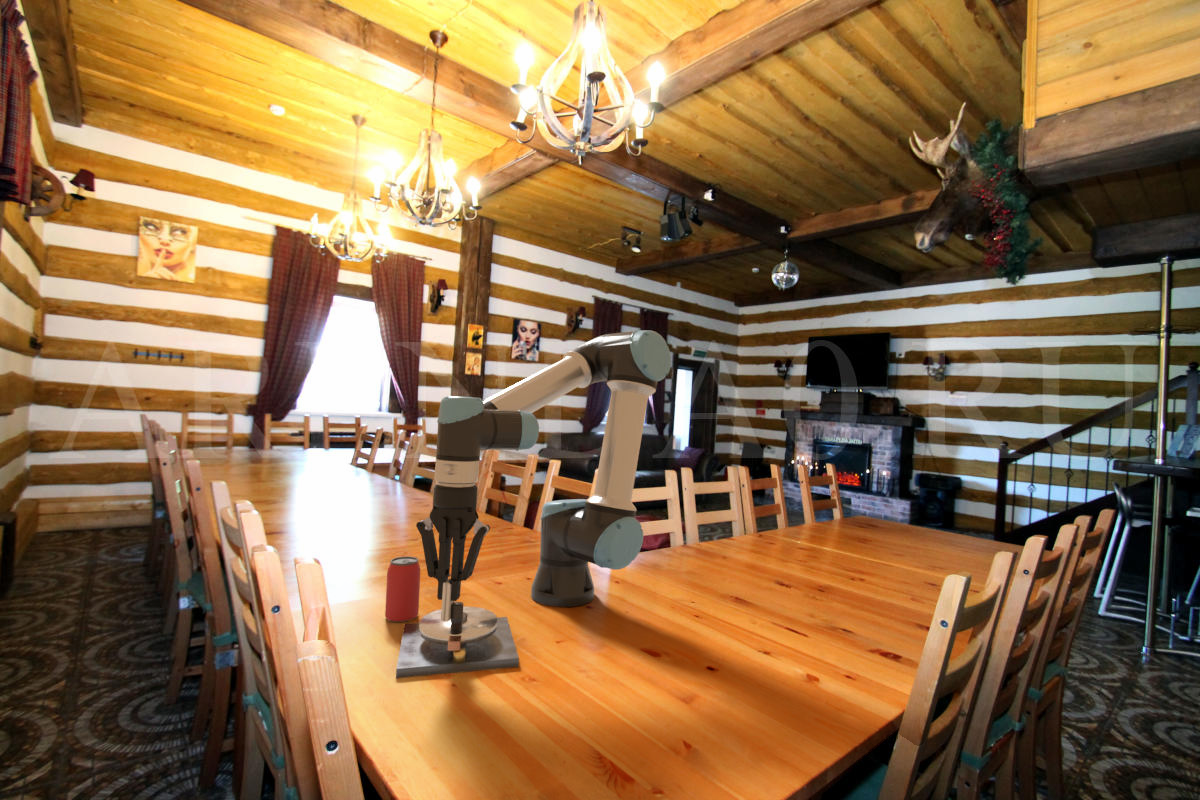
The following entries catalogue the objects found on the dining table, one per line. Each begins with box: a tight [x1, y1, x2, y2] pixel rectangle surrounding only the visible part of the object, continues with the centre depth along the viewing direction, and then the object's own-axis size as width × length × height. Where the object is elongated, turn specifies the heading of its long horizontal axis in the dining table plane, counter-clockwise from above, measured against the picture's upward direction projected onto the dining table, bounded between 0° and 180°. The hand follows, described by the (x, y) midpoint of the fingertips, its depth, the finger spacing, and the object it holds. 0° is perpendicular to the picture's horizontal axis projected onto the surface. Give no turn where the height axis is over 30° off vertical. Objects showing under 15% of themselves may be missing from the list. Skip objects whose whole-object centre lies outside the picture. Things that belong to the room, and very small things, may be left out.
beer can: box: [384, 556, 421, 623], centre depth 114 cm, size 7×7×12 cm
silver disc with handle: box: [418, 601, 497, 651], centre depth 99 cm, size 16×14×6 cm
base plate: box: [395, 616, 520, 679], centre depth 100 cm, size 20×19×4 cm
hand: (447, 618), depth 95 cm, fingers closed
